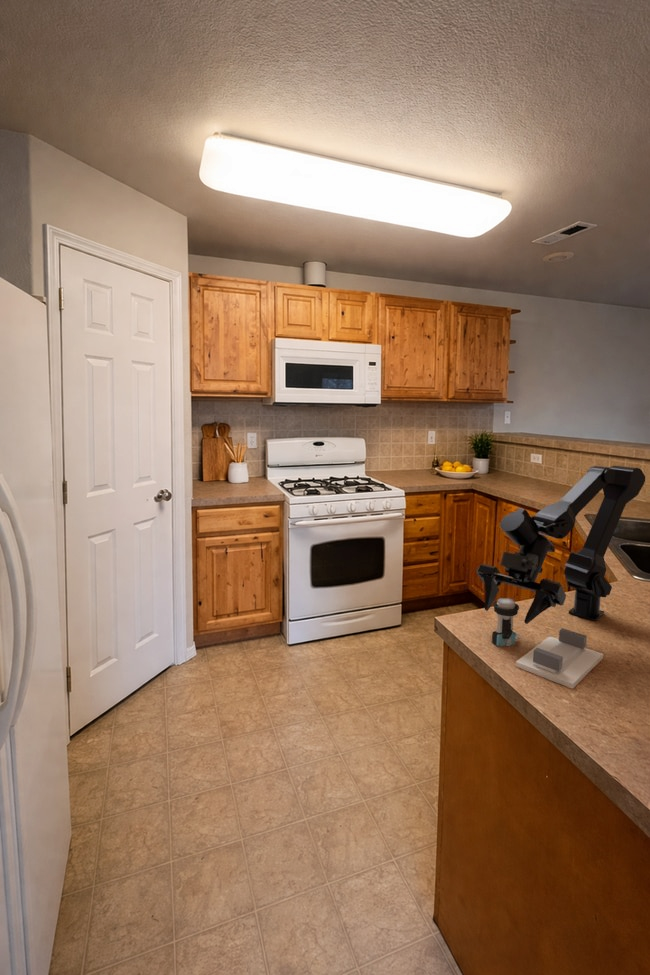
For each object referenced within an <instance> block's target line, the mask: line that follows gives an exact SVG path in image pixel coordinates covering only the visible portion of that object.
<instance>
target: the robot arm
mask: <svg viewBox="0 0 650 975" xmlns="http://www.w3.org/2000/svg"><path fill="white" fill-rule="evenodd" d="M645 483H646V475H645V474H644V472H643V470H642V469H641V468H640V467H632V466H622V465H612V466H610V467H608V466H600V465H599V466H598V465H594V466H590V467H589V468H588V469H587V472H586V474H584V476H583V477H582V478H581V479H579V481H578V482H577V483H576V484H575V485H573V487H572V488H571V489H570V490H569V491H568V492H566V494H565V495H563V496H562V498H560V499H559V500H558V501H557V502H555V503H551V504H549V505H546V506H545V507H543V508H542V509H541V510H539V511H538V512H537V513H535V515H533V516H532V515H530V513H529V512H528V510H527V509H524V508H521V507H518V508H517V509H516V511H512V512H510V513H508V514H507V515H505V516H503V517H502V518H501V521H500V523H499V526H500V529H501V530H502V532H504V534H505V535H507V537H508V538H509V539H510V540H511V541H512V542H513V543H514V544H515V545H516V546H519V550H518V552H516V551H514V553H513V552H512V553H511V552H507V551H503V553H502V556H501V561H500V565H499V566H501V567H504V571H505V572H506V573H508V574H504V573H501V572H500V570H499V569H498V567H497V566H493V565H490V564H487V563H481V564H480V565H479V566H478V568H477V570H476V574H477V576H478V577H479V578H480V580H481V582H482V583H483V584H484V588H485V590H484V591H485V592H484V610H485V611H486V612H488V611H489V610H490V608H491V607H492V606H493V603H494V602H495V599H496V597H497V596H498V593H499V591H500V588H499V587H500V586H501V585H502V583H503V584H506V585H510V586H514V587H517V588H520V589H524V590H528V591H531V592H532V591H533V592H534V598H533V599H532V602H531V604H530V605H529V606H530V607H529V609H528V610H527V613H526V614H525V618H524V620H523V621H524V624H527V625H528V624H529V623H530V622H532V621H533V620H534V619H535V618H537V617H538V616H539V615H540V614H542V613H543V612H544V611H546V610H548V609H549V608H551V607H553V608H556V606H557V605H558V606H564V604H565V601H566V599H567V597H566V596H567V594H566V592H565V590H564V588H563V586H562V585H561V583H560V582H558V581H554V580H552V579H551V580H550V579H546V578H542V579H541V580H540V581H539V582H536V580H537V579H538V576H539V574H542V572H543V564H544V562H545V559H546V557H547V555H548V553H554V552H556V549H555V546H554V545H553V540H549V539H548V538H547V537H550V538H553V539H556V540H557V539H558V540H562V539H565V537H567V536H568V535H569V534H570V532H571V530H572V529H573V528H574V526H575V525H576V517H577V516H578V514H579V513H580V512H581V511H582V510H583V509H584V508H585V507H586V506H587V505H589V503H590V502H591V501H592V500H593V499H594V498H595V497H596V496H597V495H598V494H599V493H600V492H601V491H602V492H603V498H602V500H601V504H600V506H599V509H598V511H597V513H596V516H595V518H594V521H593V523H592V526H591V527H590V530H589V532H588V534H587V537H586V538H585V539H586V540H585V541H584V544H583V547H582V548H581V549H580V550H579V551H577V552H573V551H571V553H569V555H568V558H567V561H566V563H564V570H563V571H564V573H563V574H564V576H565V580H566V585H567V587H568V588H569V587H570V588H571V589H575V590H574V601H573V604H574V605H573V607H572V608H570V609H569V610H568V613H569V614H571V615H573V616H577V617H581V618H584V619H587V620H591V621H597V620H598V619H599V618H601V617H602V616H603V615H604V614H605V611H604V610H600V608H601V598H607V596H609V595H610V594H611V591H612V589H613V587H612V585H611V584H610V582H609V581H608V579H606V577H605V575H606V572H607V567H606V562H605V556H606V555H605V554H606V552H607V550H608V548H609V545H610V543H611V540H612V538H613V536H614V533H615V531H616V528H617V526H618V524H619V522H620V520H621V517H622V514H623V512H624V510H625V507H626V506H627V504H628V503H629V502H630V501H632V500H633V499H634V498H636V497H637V496H638V495H639V493H640V492H641V490H642V488H643V486H644V485H645ZM546 536H547V537H546Z"/></svg>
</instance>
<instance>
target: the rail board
mask: <svg viewBox="0 0 650 975" xmlns="http://www.w3.org/2000/svg"><path fill="white" fill-rule="evenodd" d="M558 633H559V634H558V638H556V637H553V636H547V637H546V638H545V639H544V640H543V641H541V642H540V643H539V644H537V645H536V646H535V647H533V648H532V649H531V650H529V651H528V652H526V654H524V655H523V656H521V657H520V658H519V659H518V660H516V661H515V667H516V668H518V669H521V670H523V671H526V672H529V673H532V674H534V675H536V676H539V677H540V678H541V677H542V678H544V679H547V680H549V681H552V682H554V683H557V684H559V685H562V686H564V687H567V688H569V689H572V690H573V689H575V687H576V686H577V685H578V684H579V683H580V682H581V681H582V680H584V678H585V677H586V676H587V675H588V674H589V673H590V671H592V670H593V669H594V668H595V667H596V666H597V665H598V664H599V663H600V662H601V661H602V660H603V659H604V658H603V657H604V654H603V653H601V652H598V651H596V650H592V649H589V648H587V642H588V640H587V639H588V635H585V634H584V633H583V634H582V633H580V632H575V631H573V630H569V629H567V628H561V629H559V632H558Z"/></svg>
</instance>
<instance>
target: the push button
mask: <svg viewBox="0 0 650 975" xmlns="http://www.w3.org/2000/svg"><path fill="white" fill-rule="evenodd" d="M492 606H493V612H495V614H497V622H496V623H497V625H496V630H494V631H492V635H491V643H492V644H494V645H495V646H496V647H498V648H501V647H506V646H507V647H511V645H514V644H516V642H517V640H520V639H521V638H520V634H519V633H516V632H515V631H514V616H516V615H518V611H519V609H520V605H518V604H517V603H516V602H515V600H514V599H512V598H509V597H508V598H507V597H501V598H498V599H497V600H496V601H493V603H492Z"/></svg>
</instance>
